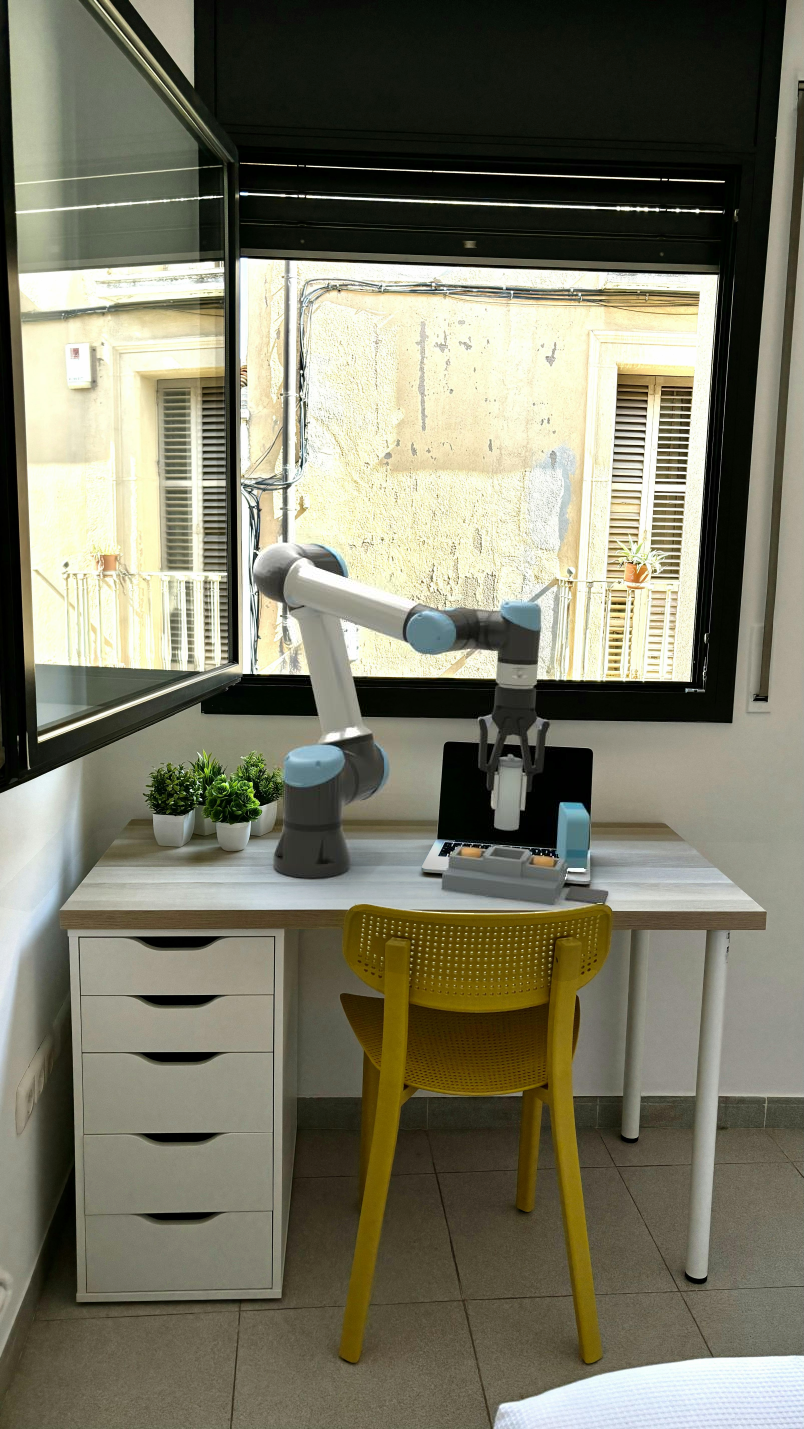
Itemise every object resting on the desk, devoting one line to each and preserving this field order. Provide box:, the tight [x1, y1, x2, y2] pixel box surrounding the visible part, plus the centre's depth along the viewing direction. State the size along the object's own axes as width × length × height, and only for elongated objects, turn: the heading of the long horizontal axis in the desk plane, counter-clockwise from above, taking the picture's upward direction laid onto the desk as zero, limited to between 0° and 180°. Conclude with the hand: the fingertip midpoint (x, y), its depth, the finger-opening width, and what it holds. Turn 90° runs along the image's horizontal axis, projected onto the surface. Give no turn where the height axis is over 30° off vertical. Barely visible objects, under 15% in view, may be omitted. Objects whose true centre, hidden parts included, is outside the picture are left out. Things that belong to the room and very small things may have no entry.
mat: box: [564, 885, 609, 905], centre depth 182 cm, size 7×7×1 cm
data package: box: [556, 802, 591, 869], centre depth 200 cm, size 12×4×12 cm, turn 178°
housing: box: [441, 845, 568, 906], centre depth 187 cm, size 21×16×6 cm
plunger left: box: [461, 846, 481, 858], centre depth 189 cm, size 4×4×2 cm
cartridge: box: [493, 753, 524, 831], centre depth 185 cm, size 5×5×14 cm
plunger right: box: [533, 855, 554, 868], centre depth 185 cm, size 4×4×2 cm
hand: (507, 807), depth 186 cm, fingers closed on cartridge, 4 cm apart
